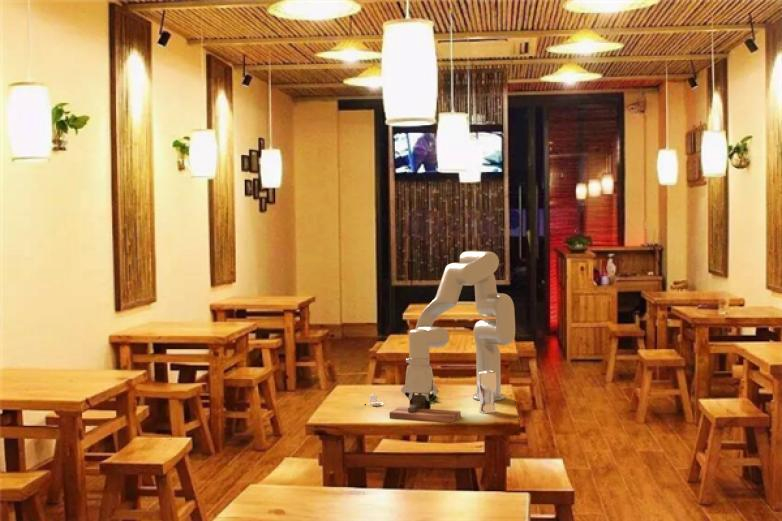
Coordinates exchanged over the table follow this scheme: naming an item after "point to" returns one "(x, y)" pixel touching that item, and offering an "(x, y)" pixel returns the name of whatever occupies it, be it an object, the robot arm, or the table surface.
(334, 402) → the table surface
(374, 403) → the teacup and saucer
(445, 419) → the board
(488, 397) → the beer glass
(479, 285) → the robot arm
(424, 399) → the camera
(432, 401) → the edible corn
